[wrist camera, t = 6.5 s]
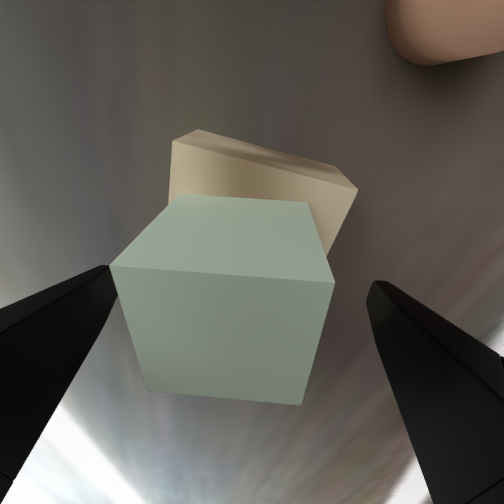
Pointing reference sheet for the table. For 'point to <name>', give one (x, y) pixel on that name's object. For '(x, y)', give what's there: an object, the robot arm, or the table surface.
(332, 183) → the oak block
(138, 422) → the table surface
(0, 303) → the table surface
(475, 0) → the pink dome cap
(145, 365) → the sage cube
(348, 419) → the table surface
